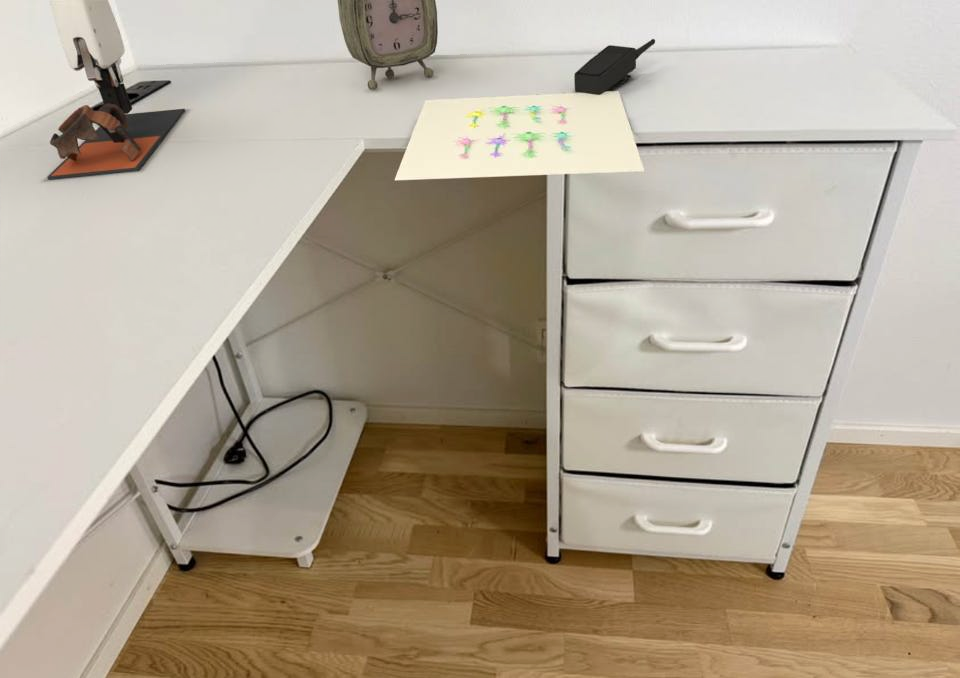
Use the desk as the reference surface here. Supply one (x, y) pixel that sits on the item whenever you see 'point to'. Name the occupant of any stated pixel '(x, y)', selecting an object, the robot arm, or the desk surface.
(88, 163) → the desk mat
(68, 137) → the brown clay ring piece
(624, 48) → the walkie-talkie
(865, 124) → the desk surface
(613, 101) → the printed paper
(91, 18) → the robot arm
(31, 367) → the desk surface
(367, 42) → the tabletop clock
